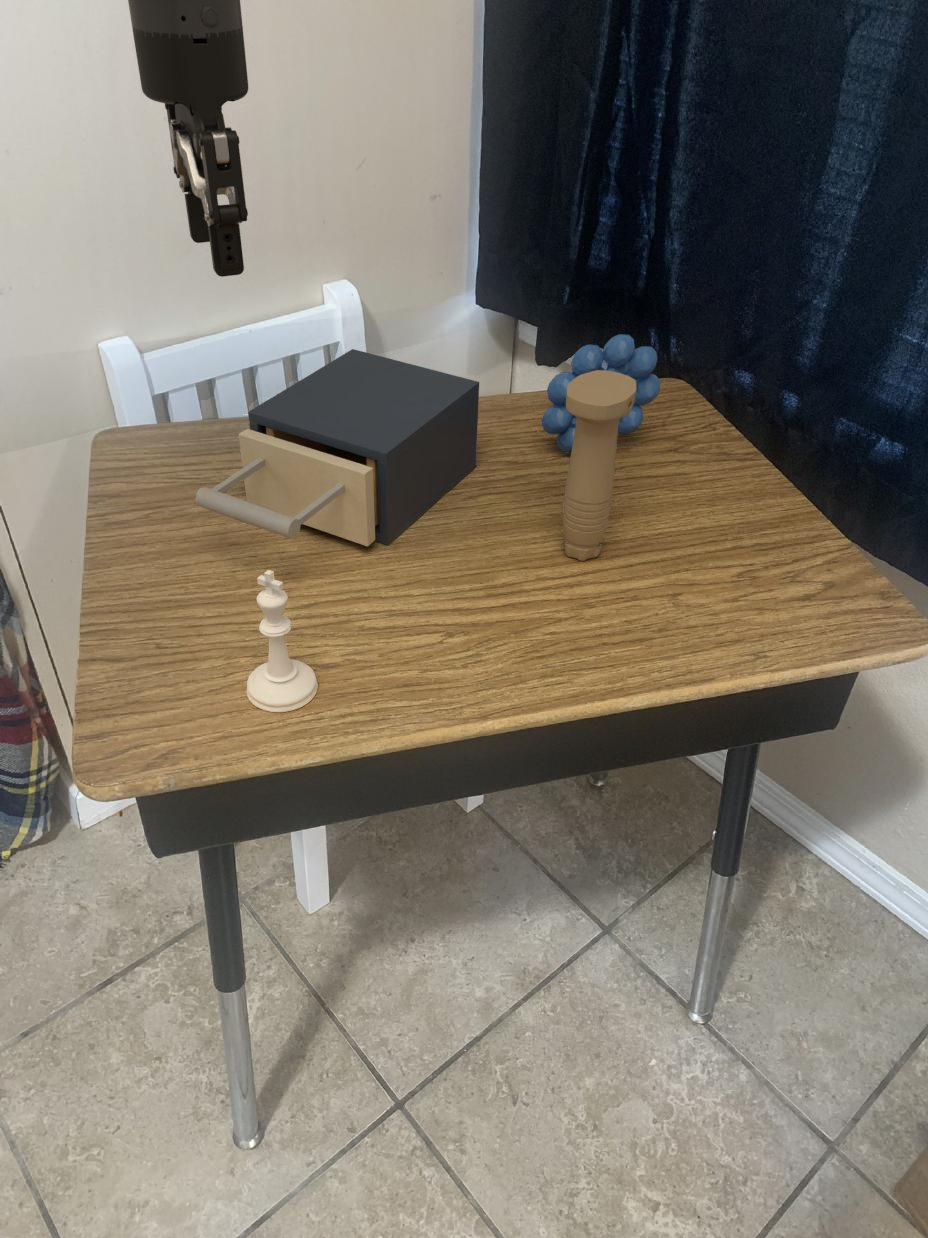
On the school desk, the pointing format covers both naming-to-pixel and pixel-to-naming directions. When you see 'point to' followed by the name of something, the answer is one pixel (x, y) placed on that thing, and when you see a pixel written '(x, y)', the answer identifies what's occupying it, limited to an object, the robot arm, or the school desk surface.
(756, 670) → the school desk surface
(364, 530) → the drawer
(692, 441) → the school desk surface
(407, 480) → the cabinet
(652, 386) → the grapes
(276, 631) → the chess piece
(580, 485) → the handle
